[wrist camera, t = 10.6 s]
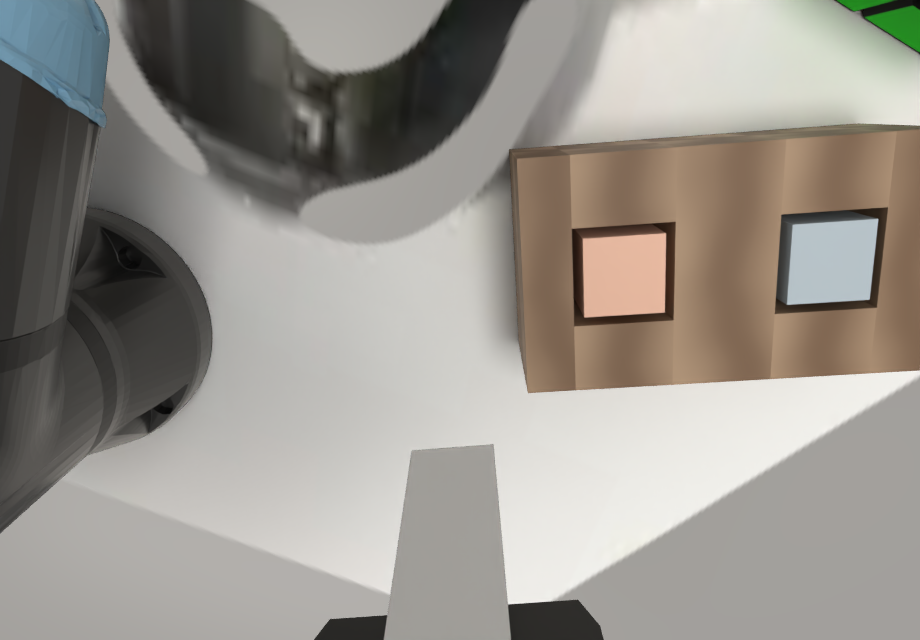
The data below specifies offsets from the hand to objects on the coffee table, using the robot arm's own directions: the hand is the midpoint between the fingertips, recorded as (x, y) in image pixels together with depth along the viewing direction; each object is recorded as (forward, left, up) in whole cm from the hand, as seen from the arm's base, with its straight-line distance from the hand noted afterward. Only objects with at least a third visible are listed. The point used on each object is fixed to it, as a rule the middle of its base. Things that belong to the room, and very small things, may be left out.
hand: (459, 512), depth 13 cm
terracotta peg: (+8, -1, -29) cm, 30 cm away
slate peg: (+18, -1, -29) cm, 34 cm away
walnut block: (+13, -1, -30) cm, 32 cm away
